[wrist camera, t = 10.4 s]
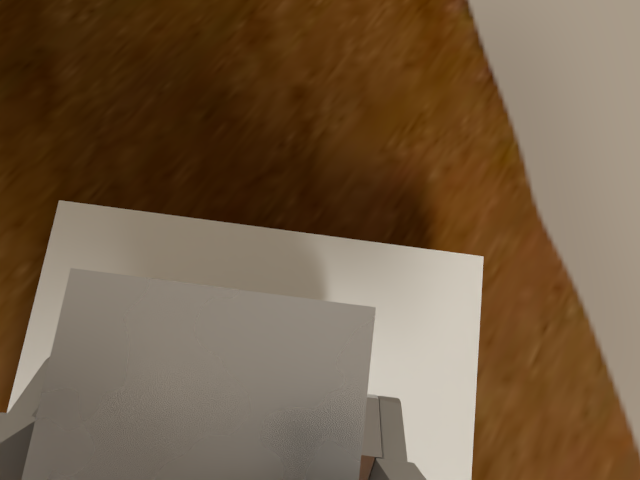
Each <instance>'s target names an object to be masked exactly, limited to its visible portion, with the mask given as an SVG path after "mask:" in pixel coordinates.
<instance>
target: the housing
mask: <svg viewBox="0 0 640 480" xmlns="http://www.w3.org/2000/svg"><path fill="white" fill-rule="evenodd" d="M375 311H376V307H370V306H362V305H354V304H347V303H339V302H331V301H323V300H315V299H308V298H300V297H292V296H284V295H277V294H269V293H261V292H253V291H246V290H238V289H230V288H222V287H215V286H207V285H199V284H191V283H184V282H176V281H168V280H160V279H152V278H145V277H137V276H129V275H121V274H114V273H106V272H98V271H90V270H83V269H75V268H71V269H70V273H69V278H68V282H67V286H66V291H65V295H64V299H63V303H62V308H61V312H60V316H59V321H58V325H57V329H56V333H55V338H54V342H53V346H52V351H51V355H50V359H49V363H48V368H47V372H46V376H45V381H44V385H43V389H42V393H41V398H40V402H39V406H38V411H37V415H36V419H35V423H34V428H33V432H32V436H31V441H30V445H29V449H28V453H27V458H26V462H25V466H24V471H23V475H22V479H21V480H359V472H360V462H361V452H362V442H363V432H364V422H365V412H366V402H367V392H368V382H369V371H370V361H371V351H372V341H373V331H374V321H375Z"/></svg>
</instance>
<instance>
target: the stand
mask: <svg viewBox="0 0 640 480" xmlns="http://www.w3.org/2000/svg"><path fill="white" fill-rule="evenodd" d="M71 268H75V269H83V270H90V271H98V272H106V273H114V274H121V275H129V276H137V277H145V278H152V279H160V280H168V281H176V282H184V283H191V284H199V285H207V286H215V287H222V288H230V289H238V290H246V291H253V292H261V293H269V294H277V295H284V296H292V297H300V298H308V299H315V300H323V301H331V302H339V303H347V304H354V305H362V306H370V307H376V311H375V321H374V331H373V341H372V351H371V361H370V371H369V382H368V392H367V394H373V395H377V396H386V397H394V398H399V399H400V401H401V407H402V416H403V425H404V434H405V443H406V452H407V461H408V462H412V463H415V465H416V466H417V467H418V469H419V470H420V472H421V473H422V474H423V476H424V477H425V478H426V480H471V474H472V456H473V438H474V419H475V401H476V383H477V365H478V347H479V329H480V311H481V293H482V275H483V256H476V255H468V254H461V253H453V252H446V251H438V250H431V249H423V248H416V247H408V246H400V245H393V244H385V243H378V242H370V241H363V240H355V239H348V238H340V237H333V236H325V235H317V234H310V233H302V232H295V231H287V230H280V229H272V228H265V227H257V226H250V225H242V224H235V223H227V222H219V221H212V220H204V219H197V218H189V217H182V216H174V215H167V214H159V213H152V212H144V211H136V210H129V209H121V208H114V207H106V206H99V205H91V204H84V203H76V202H69V201H61V200H59V202H58V206H57V210H56V215H55V219H54V223H53V227H52V231H51V235H50V239H49V243H48V247H47V251H46V255H45V259H44V263H43V267H42V271H41V275H40V280H39V284H38V288H37V292H36V296H35V300H34V304H33V308H32V312H31V316H30V320H29V324H28V328H27V332H26V336H25V340H24V345H23V349H22V353H21V357H20V361H19V365H18V369H17V373H16V377H15V381H14V385H13V389H12V393H11V397H10V401H9V405H8V410H7V413H8V412H9V411H10V410H11V408H12V407H13V405H14V404H15V402H16V401H17V400H18V398H19V397H20V395H21V394H22V393H23V391H24V390H25V388H26V387H27V385H28V384H29V383H30V381H31V380H32V378H33V377H34V375H35V374H36V373H37V371H38V370H39V368H40V367H41V366H42V364H43V363H44V361H45V360H46V359H47V358H49V357H50V355H51V351H52V346H53V342H54V338H55V333H56V329H57V325H58V321H59V316H60V312H61V308H62V303H63V299H64V295H65V291H66V286H67V282H68V278H69V273H70V269H71Z"/></svg>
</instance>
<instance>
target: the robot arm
mask: <svg viewBox="0 0 640 480" xmlns="http://www.w3.org/2000/svg"><path fill="white" fill-rule="evenodd" d="M49 359H50V357H49V358H47V359H46V360H45V361H44V363H43V364H42V366H41V367H40V368H39V370H38V371H37V373H36V374H35V375H34V377H33V378H32V380H31V381H30V383H29V384H28V385H27V387H26V388H25V390H24V391H23V393H22V394H21V395H20V397H19V398H18V400H17V401H16V402H15V404H14V405H13V407H12V408H11V410H10V411H9V412H8V413H2V412H1V413H0V480H21V479H22V475H23V471H24V466H25V462H26V458H27V453H28V449H29V445H30V441H31V436H32V432H33V428H34V423H35V419H36V415H37V411H38V406H39V402H40V398H41V393H42V389H43V385H44V381H45V376H46V372H47V368H48V363H49ZM359 480H426V478H425V477H424V476H423V474H422V473H421V472H420V470H419V469H418V467H417V466H416V465H415V463H412V462H408V461H407V452H406V443H405V434H404V425H403V416H402V407H401V401H400V399H399V398H394V397H386V396H377V395H373V394H367V402H366V412H365V422H364V432H363V442H362V452H361V462H360V472H359Z"/></svg>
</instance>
